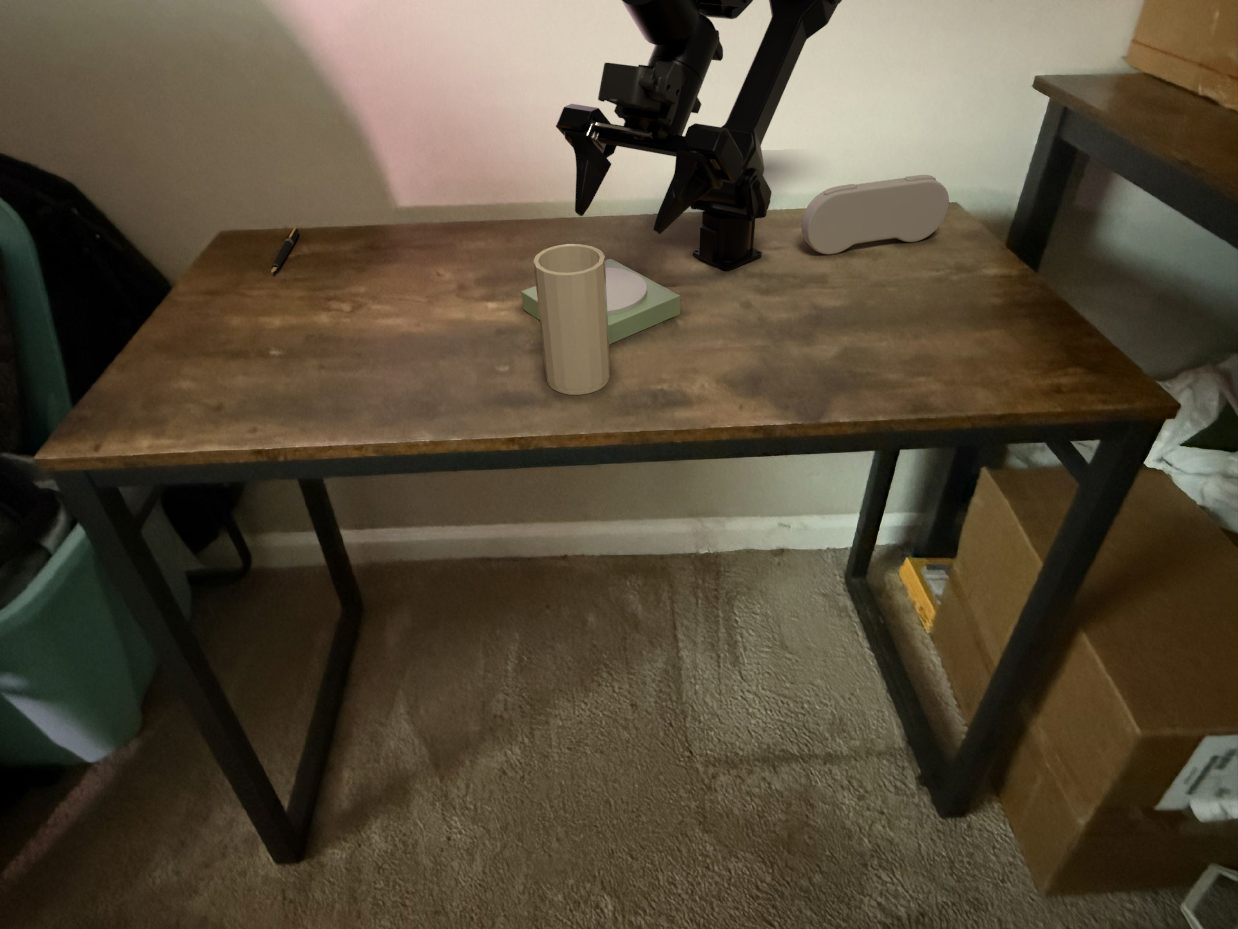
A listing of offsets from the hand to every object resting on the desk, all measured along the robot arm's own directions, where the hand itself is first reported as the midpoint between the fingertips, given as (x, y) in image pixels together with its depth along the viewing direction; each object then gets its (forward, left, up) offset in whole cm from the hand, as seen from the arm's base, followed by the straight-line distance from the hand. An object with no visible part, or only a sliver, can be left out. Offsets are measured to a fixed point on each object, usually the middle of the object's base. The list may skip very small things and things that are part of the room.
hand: (616, 222), depth 79 cm
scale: (-2, -7, -13) cm, 15 cm away
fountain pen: (+20, -48, -14) cm, 54 cm away
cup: (+8, +3, -13) cm, 16 cm away
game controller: (-39, +2, -14) cm, 42 cm away
